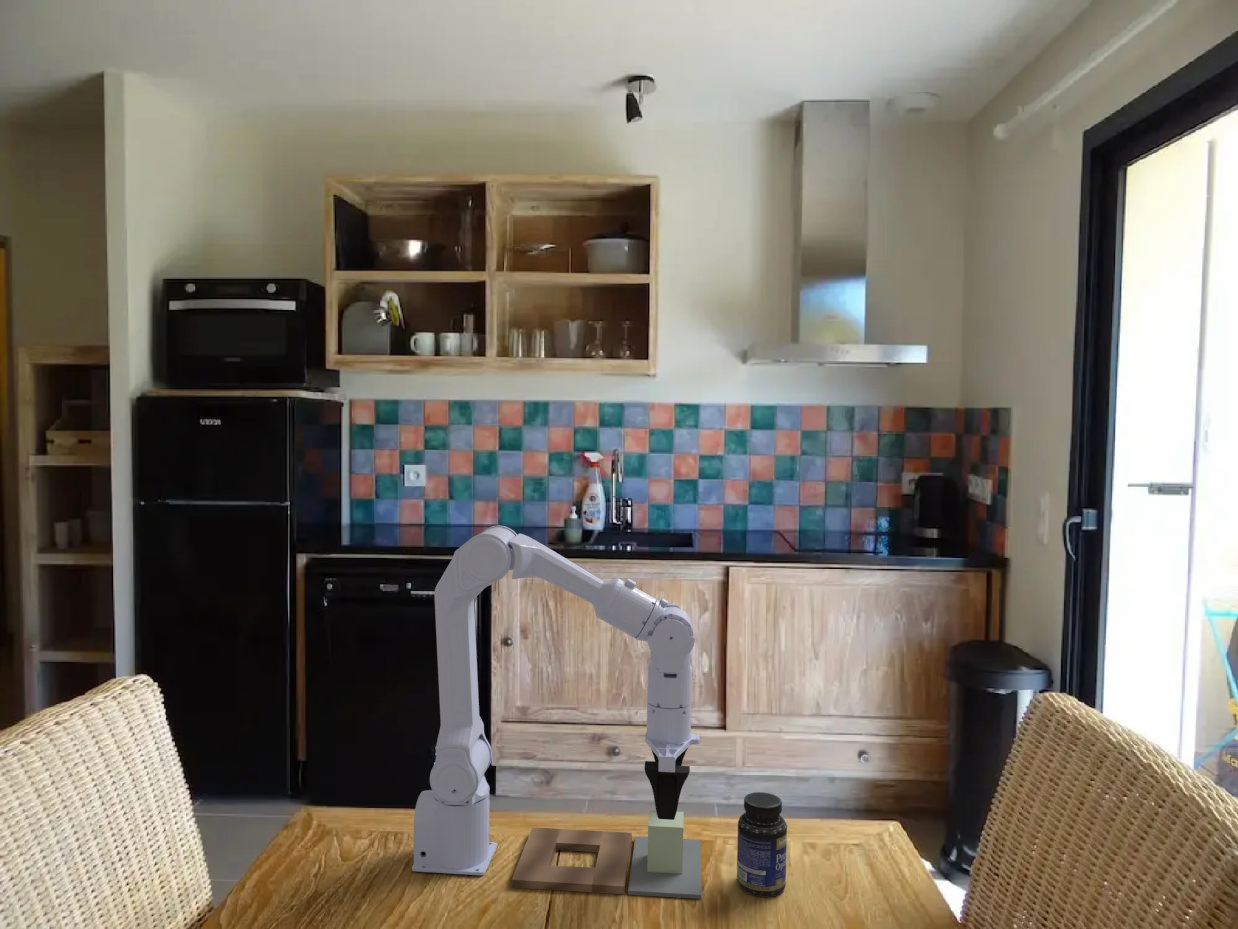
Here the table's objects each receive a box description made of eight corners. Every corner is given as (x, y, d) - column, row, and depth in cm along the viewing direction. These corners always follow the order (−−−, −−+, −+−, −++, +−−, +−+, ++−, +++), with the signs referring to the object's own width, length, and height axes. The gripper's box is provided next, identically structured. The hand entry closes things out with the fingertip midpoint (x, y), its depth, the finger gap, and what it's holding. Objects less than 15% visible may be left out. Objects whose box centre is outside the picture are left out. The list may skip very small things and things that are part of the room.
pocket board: (511, 887, 107) (511, 879, 107) (532, 834, 121) (532, 827, 121) (623, 894, 106) (624, 886, 106) (631, 840, 120) (631, 832, 120)
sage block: (647, 871, 111) (648, 826, 111) (648, 854, 115) (649, 810, 115) (682, 873, 110) (683, 827, 110) (682, 856, 115) (683, 812, 115)
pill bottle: (785, 901, 105) (787, 813, 105) (734, 895, 106) (736, 807, 106) (785, 876, 111) (787, 791, 111) (738, 870, 113) (739, 787, 112)
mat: (628, 894, 106) (628, 890, 106) (635, 840, 120) (635, 836, 120) (701, 899, 106) (701, 895, 106) (700, 843, 119) (700, 840, 119)
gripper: (700, 722, 104) (698, 832, 105) (699, 686, 119) (697, 783, 119) (642, 720, 105) (640, 829, 106) (648, 684, 119) (646, 780, 120)
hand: (667, 805), depth 112 cm, fingers open, 7 cm apart
